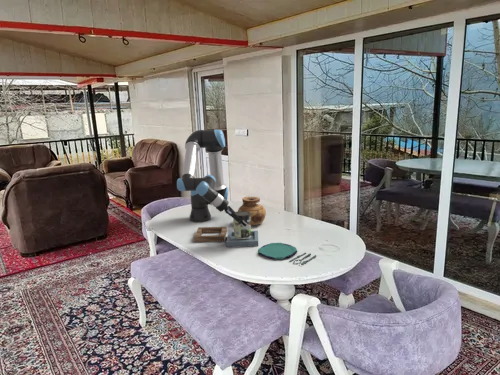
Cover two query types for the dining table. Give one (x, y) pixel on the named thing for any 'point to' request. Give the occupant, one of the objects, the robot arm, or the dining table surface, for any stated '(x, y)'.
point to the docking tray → (242, 240)
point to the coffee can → (239, 229)
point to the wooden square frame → (210, 237)
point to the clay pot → (253, 209)
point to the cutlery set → (281, 252)
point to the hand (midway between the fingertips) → (247, 225)
